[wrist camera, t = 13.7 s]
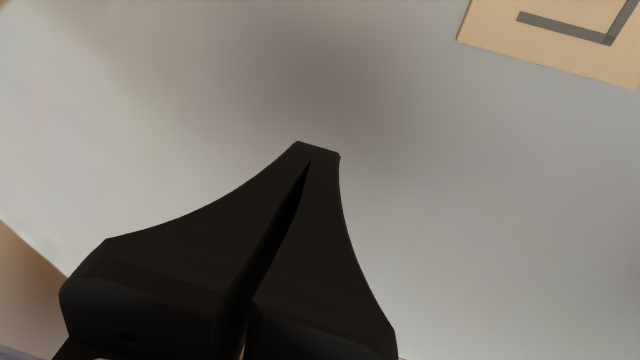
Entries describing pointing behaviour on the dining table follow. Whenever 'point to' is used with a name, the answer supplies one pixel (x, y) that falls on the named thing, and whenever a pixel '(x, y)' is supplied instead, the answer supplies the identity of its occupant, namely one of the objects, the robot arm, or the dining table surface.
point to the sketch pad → (562, 35)
